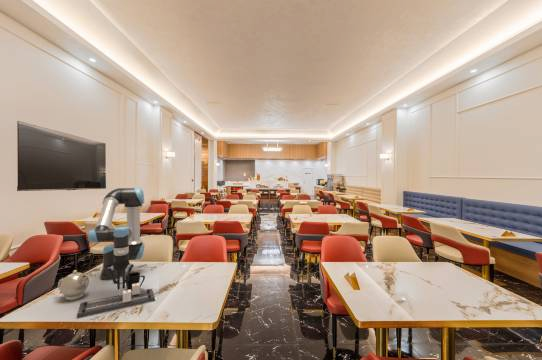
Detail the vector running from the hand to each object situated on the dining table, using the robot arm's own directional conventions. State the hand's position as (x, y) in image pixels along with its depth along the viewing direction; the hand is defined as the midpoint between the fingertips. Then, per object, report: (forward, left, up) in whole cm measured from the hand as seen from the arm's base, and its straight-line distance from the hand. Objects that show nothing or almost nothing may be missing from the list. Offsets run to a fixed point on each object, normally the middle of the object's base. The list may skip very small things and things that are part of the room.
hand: (121, 294), depth 146 cm
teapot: (-20, -25, -4) cm, 32 cm away
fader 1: (+8, +3, -1) cm, 9 cm away
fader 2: (0, +8, -1) cm, 8 cm away
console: (+4, -1, -4) cm, 5 cm away
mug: (-13, +8, -4) cm, 16 cm away
